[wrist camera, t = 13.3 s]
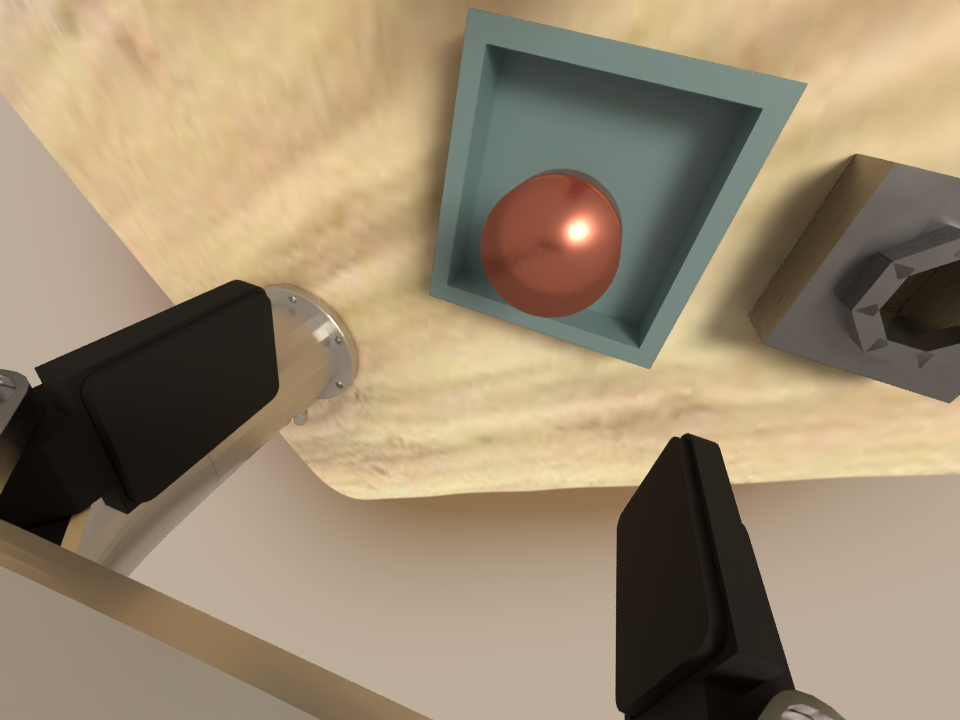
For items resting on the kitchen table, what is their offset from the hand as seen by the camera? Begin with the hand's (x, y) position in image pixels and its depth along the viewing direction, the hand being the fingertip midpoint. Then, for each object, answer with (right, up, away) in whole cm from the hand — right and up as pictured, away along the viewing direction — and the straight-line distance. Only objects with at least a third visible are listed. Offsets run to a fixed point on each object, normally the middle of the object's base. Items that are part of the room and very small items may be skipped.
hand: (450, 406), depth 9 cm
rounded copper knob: (+7, +11, +17) cm, 22 cm away
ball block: (+24, +6, +14) cm, 29 cm away
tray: (+7, +11, +18) cm, 22 cm away
